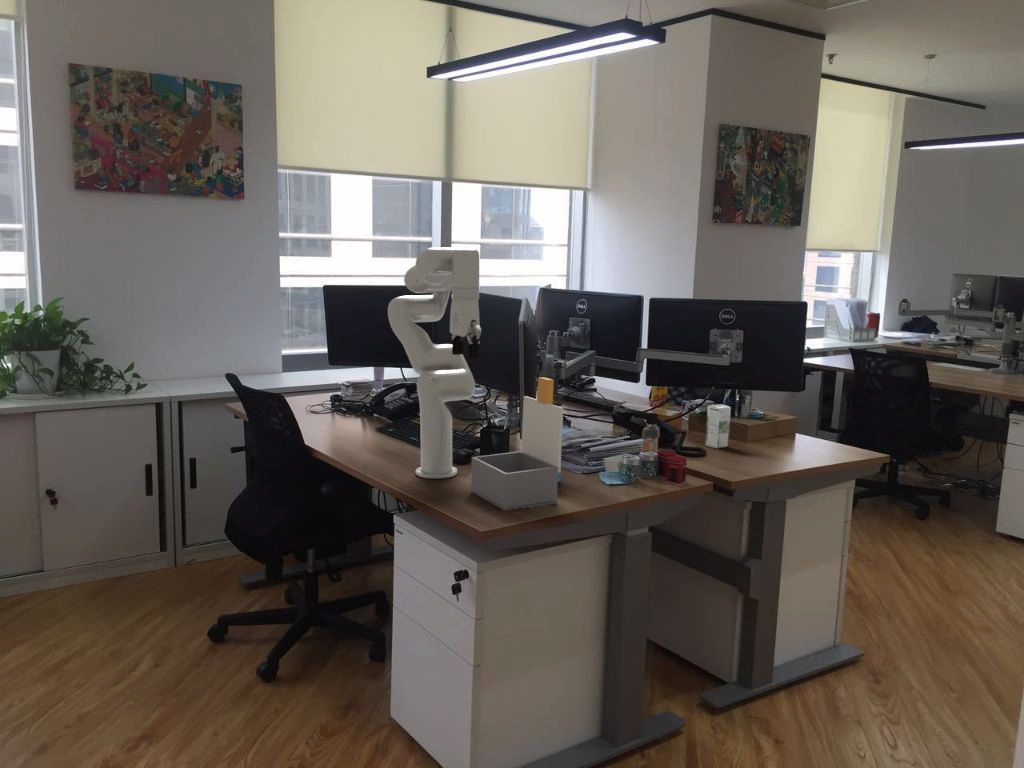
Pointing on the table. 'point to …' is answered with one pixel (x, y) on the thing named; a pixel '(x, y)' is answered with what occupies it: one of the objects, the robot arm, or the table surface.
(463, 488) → the table surface
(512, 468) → the carton
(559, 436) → the lid flap
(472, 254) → the robot arm
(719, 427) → the syrup box
